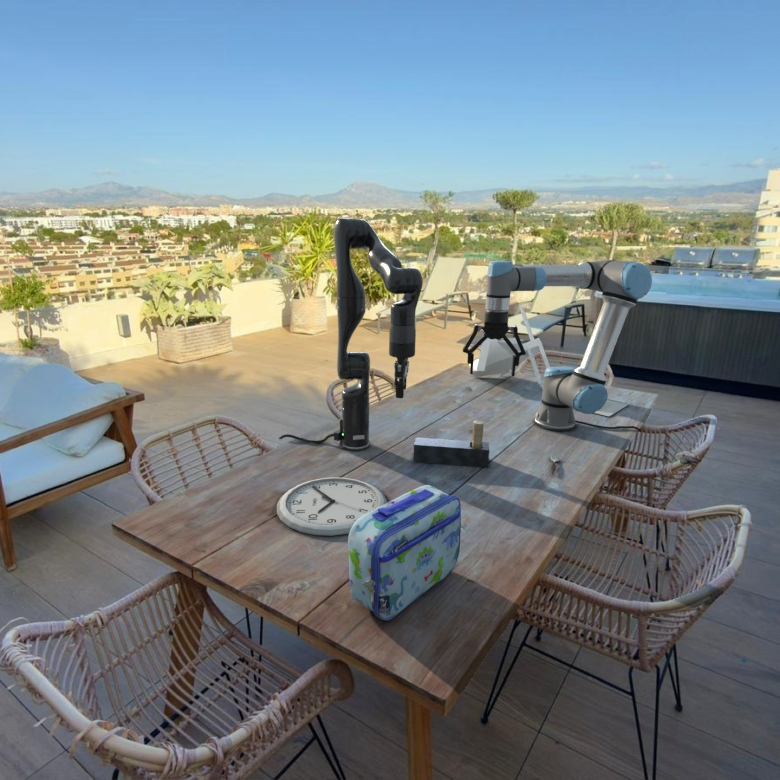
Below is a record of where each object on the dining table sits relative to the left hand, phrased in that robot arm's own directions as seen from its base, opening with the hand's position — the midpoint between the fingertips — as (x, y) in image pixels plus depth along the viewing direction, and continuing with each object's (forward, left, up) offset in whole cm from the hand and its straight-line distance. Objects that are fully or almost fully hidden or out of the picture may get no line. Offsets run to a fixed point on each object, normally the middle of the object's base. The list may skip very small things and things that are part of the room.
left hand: (401, 393), depth 154 cm
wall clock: (-6, -27, -26) cm, 38 cm away
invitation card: (+42, +103, -26) cm, 114 cm away
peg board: (+10, +17, -26) cm, 33 cm away
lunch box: (+28, -46, -26) cm, 60 cm away
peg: (+17, +21, -26) cm, 37 cm away
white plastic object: (-4, +114, -26) cm, 117 cm away
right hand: (+16, +33, +1) cm, 37 cm away
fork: (+39, +32, -26) cm, 57 cm away
